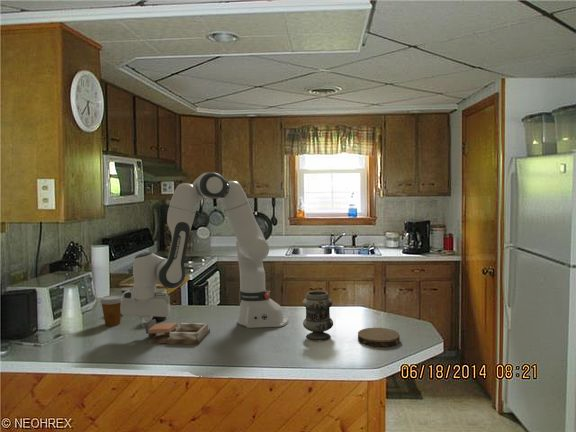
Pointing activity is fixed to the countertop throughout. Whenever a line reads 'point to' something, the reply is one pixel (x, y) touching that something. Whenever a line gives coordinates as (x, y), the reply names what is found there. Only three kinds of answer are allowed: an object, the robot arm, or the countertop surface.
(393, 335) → the brown round disc
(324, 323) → the apothecary jar
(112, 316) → the disposable coffee cup
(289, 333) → the countertop surface
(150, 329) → the trolley
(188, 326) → the loading dock
